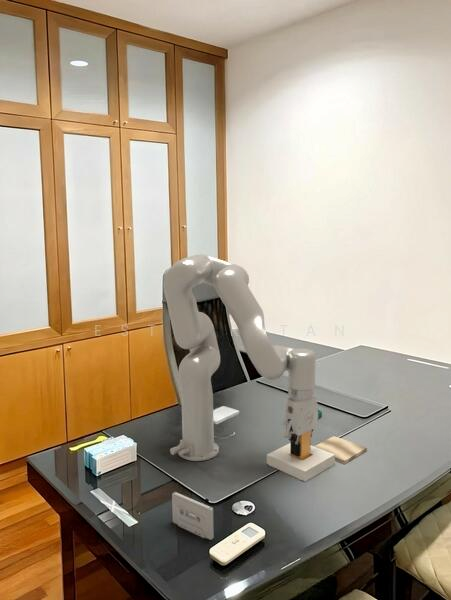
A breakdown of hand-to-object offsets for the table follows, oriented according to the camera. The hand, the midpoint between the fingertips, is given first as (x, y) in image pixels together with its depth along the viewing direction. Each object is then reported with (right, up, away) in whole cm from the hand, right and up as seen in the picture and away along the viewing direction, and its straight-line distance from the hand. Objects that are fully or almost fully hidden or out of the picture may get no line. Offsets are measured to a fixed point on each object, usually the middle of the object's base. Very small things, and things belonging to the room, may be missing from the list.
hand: (300, 451), depth 154 cm
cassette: (-29, -10, -30) cm, 43 cm away
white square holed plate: (0, -4, +1) cm, 4 cm away
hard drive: (-24, +2, +37) cm, 44 cm away
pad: (+13, -2, +9) cm, 16 cm away
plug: (0, -4, +1) cm, 4 cm away
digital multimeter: (+6, +1, +32) cm, 32 cm away
